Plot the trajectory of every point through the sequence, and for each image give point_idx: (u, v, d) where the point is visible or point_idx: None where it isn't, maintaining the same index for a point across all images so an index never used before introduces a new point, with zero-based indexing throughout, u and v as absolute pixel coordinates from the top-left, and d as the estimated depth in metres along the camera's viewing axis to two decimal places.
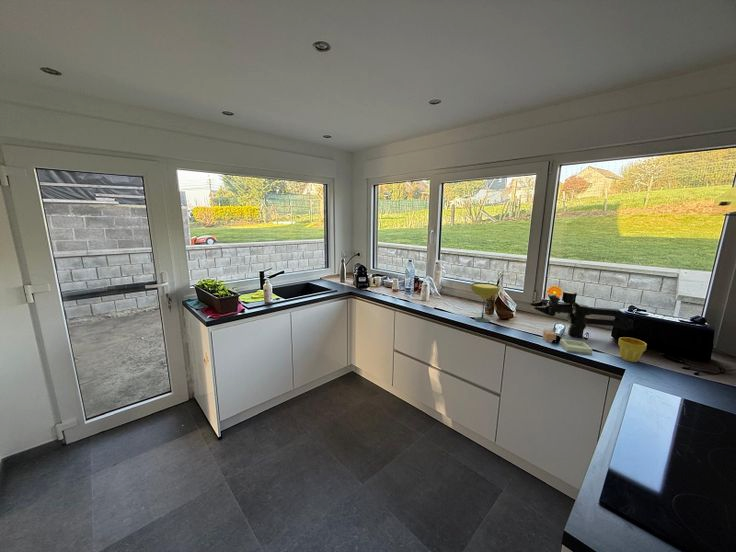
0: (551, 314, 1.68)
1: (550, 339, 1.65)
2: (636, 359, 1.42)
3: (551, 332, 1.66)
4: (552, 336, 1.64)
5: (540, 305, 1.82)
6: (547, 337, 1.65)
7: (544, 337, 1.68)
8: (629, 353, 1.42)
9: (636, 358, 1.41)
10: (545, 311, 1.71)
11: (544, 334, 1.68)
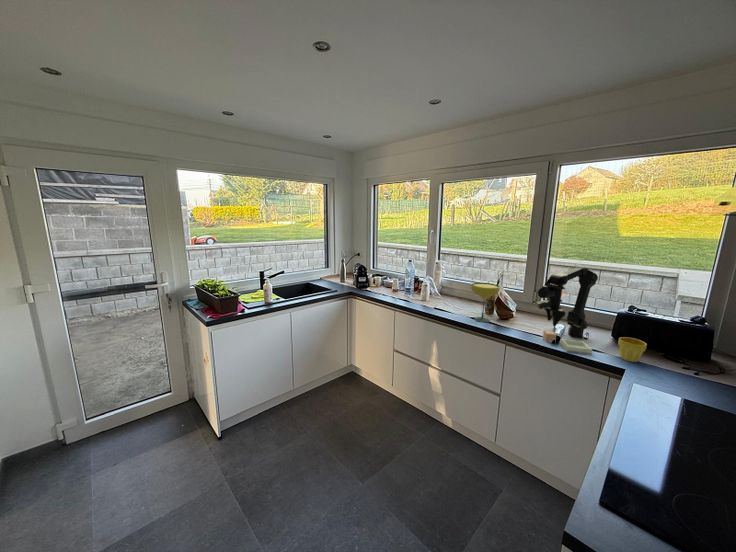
0: (563, 315, 1.55)
1: (550, 339, 1.65)
2: (636, 359, 1.42)
3: (551, 332, 1.66)
4: (552, 336, 1.64)
5: None
6: (547, 337, 1.65)
7: (544, 337, 1.68)
8: (629, 353, 1.42)
9: (636, 358, 1.41)
10: (558, 317, 1.58)
11: (544, 334, 1.68)
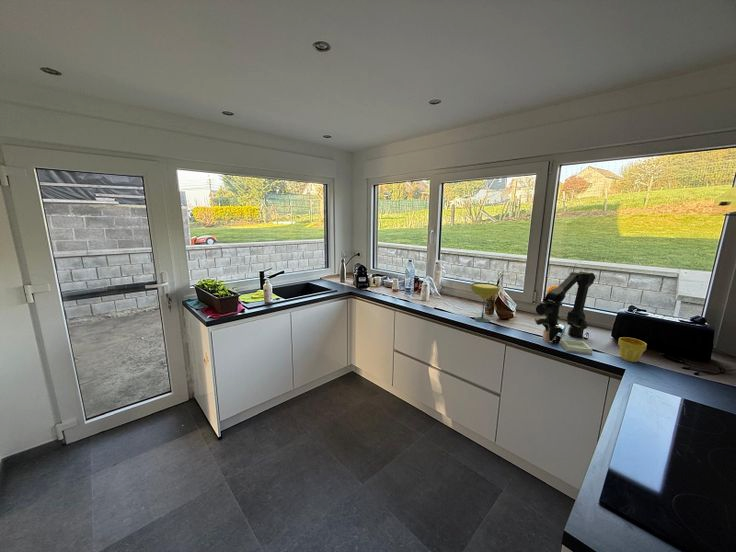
0: (560, 331, 1.56)
1: None
2: (636, 359, 1.42)
3: None
4: None
5: None
6: (547, 337, 1.65)
7: (544, 337, 1.67)
8: (629, 353, 1.42)
9: (636, 358, 1.41)
10: (555, 332, 1.62)
11: (544, 334, 1.68)
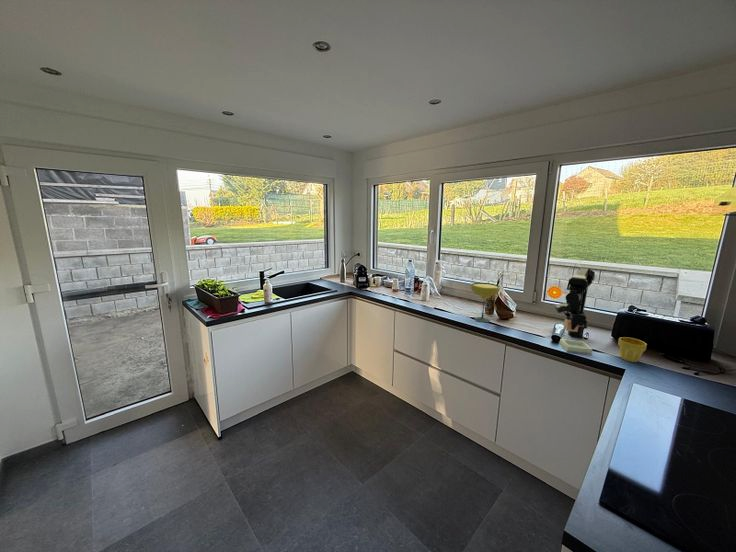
0: (583, 319, 1.46)
1: None
2: (636, 359, 1.42)
3: None
4: None
5: None
6: (568, 326, 1.55)
7: (565, 326, 1.57)
8: (629, 353, 1.42)
9: (636, 358, 1.41)
10: (577, 320, 1.51)
11: (565, 323, 1.58)
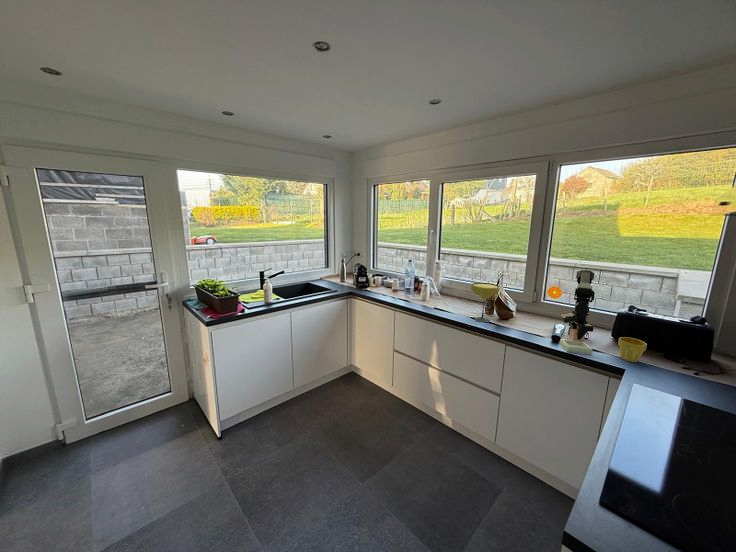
0: (591, 330, 1.44)
1: None
2: (636, 359, 1.42)
3: None
4: None
5: (577, 325, 1.57)
6: (575, 336, 1.53)
7: (571, 336, 1.55)
8: (629, 353, 1.42)
9: (636, 358, 1.41)
10: (584, 331, 1.50)
11: (571, 333, 1.56)
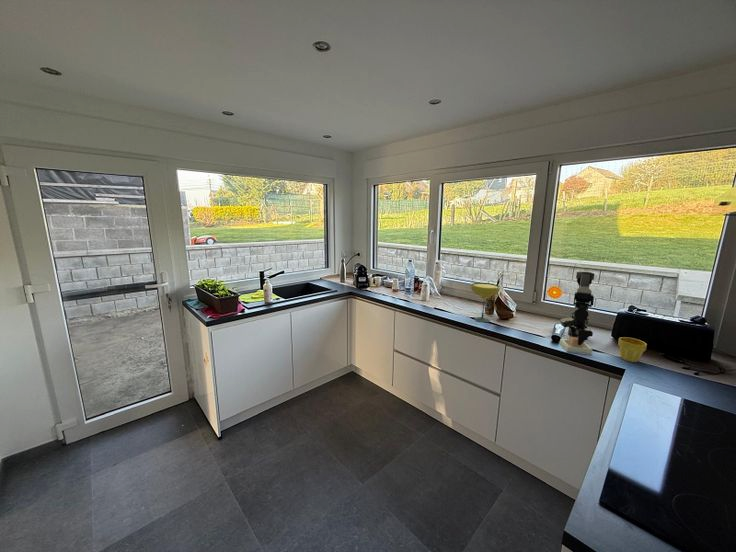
0: (590, 335, 1.45)
1: (577, 346, 1.53)
2: (636, 359, 1.42)
3: None
4: None
5: (575, 329, 1.58)
6: (573, 344, 1.54)
7: (570, 343, 1.56)
8: (629, 353, 1.42)
9: (636, 358, 1.41)
10: (584, 336, 1.49)
11: (570, 340, 1.56)
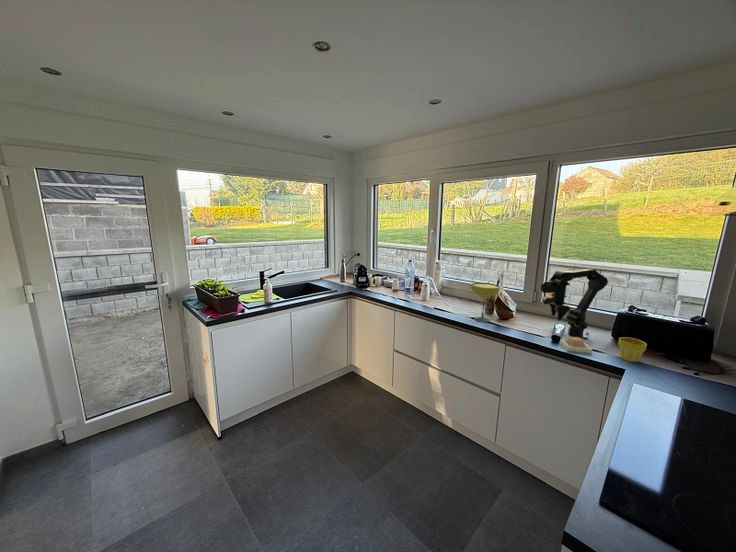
0: (567, 309, 1.59)
1: (577, 346, 1.53)
2: (636, 359, 1.42)
3: (578, 338, 1.55)
4: (579, 342, 1.53)
5: (555, 306, 1.74)
6: (573, 344, 1.54)
7: (570, 343, 1.56)
8: (629, 353, 1.42)
9: (636, 358, 1.41)
10: (563, 312, 1.63)
11: (570, 340, 1.56)
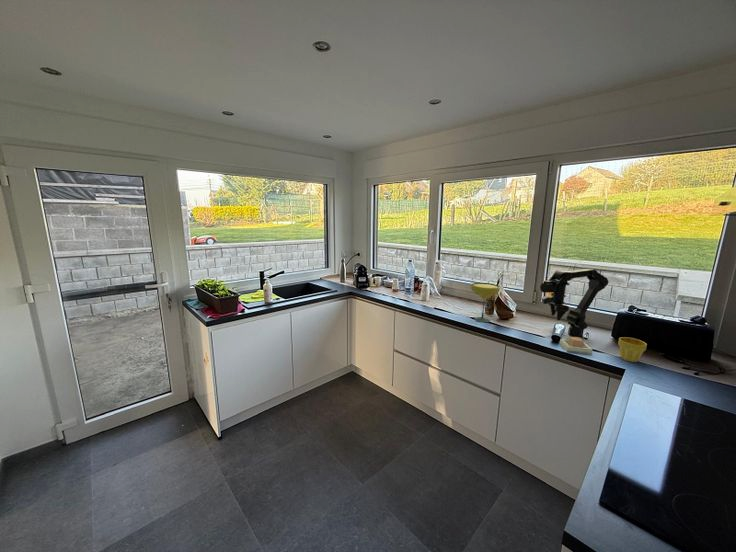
0: (566, 309, 1.60)
1: (577, 346, 1.53)
2: (636, 359, 1.42)
3: (578, 338, 1.55)
4: (579, 342, 1.53)
5: (554, 306, 1.74)
6: (573, 344, 1.54)
7: (570, 343, 1.56)
8: (629, 353, 1.42)
9: (636, 358, 1.41)
10: (562, 311, 1.63)
11: (570, 340, 1.56)
